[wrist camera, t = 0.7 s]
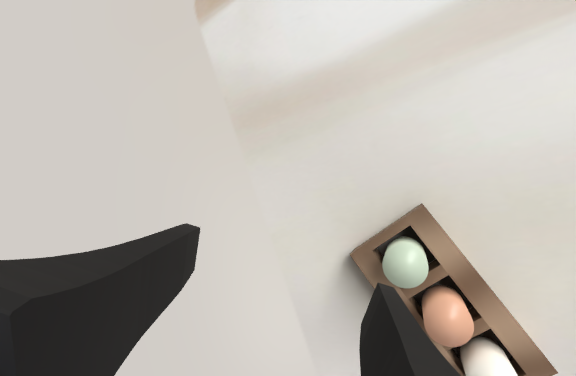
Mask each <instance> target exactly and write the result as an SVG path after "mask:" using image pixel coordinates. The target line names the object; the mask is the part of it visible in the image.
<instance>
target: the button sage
mask: <svg viewBox="0 0 576 376" xmlns="http://www.w3.org/2000/svg"><path fill="white" fill-rule="evenodd" d="M382 267H383V271H384V274H385V276H386V277H387V279H388V280H389V281H390V282H391V283H392V284H394V285H396V286H398V287H401V288H414V287H417V286H419V285H420V284H422V283H423V282H424V280H425V279H426V277H427V275H428V270H429V268H428V262H427V258H426V254H425V250H424V248H423V246H422V245H421V244H420V243H419V242H418V241H417V240H415V239H413V238H410V237H398V238H396V239H394V240H392V241H391V242H390V243H389V245H388V247H387V249H386V252H385V255H384V258H383V263H382Z"/></svg>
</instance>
